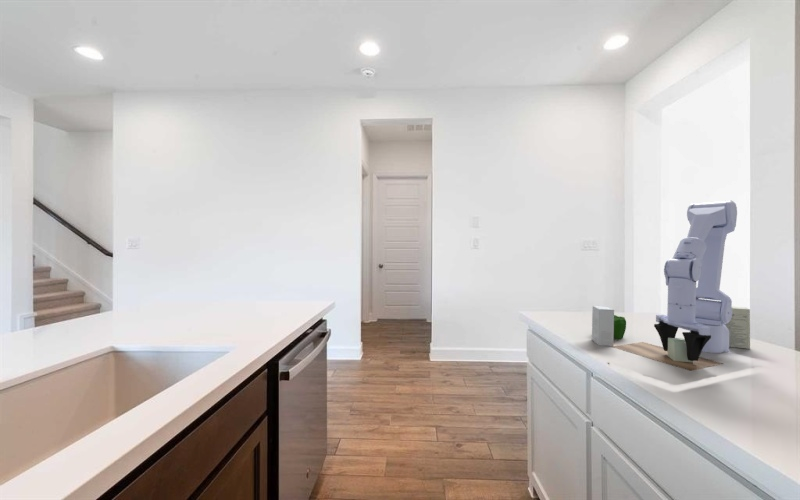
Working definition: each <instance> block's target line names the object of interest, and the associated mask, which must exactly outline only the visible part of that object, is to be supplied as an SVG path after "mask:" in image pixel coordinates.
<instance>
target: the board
mask: <svg viewBox="0 0 800 500" xmlns="http://www.w3.org/2000/svg"><path fill="white" fill-rule="evenodd" d="M611 348H614V349H618V350H621V351H624V352H626V353H631V354H633V355H638V356H640V357H644V358H647V359H650V360H654V361H657V362H661V363H664V364H667V365H669V366H670V365H671V366H673V367H675V368H676V367H678V368H680V369H683V370H687V371H695V370H699V369H704V368H710V367H715V366H718V365H724V363H723V362H719V361H715V360H712V359H708V358H704V357H701V356H699V359H698V361H693V362H683V361H674V360H673V359H671V358H670V357H669V356H668V351H664V349H663V346H659V345H655V344H653V343H648V342H645V341H640V342H634V343H626V344H619V345H613V346H611Z"/></svg>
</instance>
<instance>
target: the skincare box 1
mask: <svg viewBox="0 0 800 500" xmlns="http://www.w3.org/2000/svg"><path fill="white" fill-rule="evenodd" d="M614 315H615V309H612V308H611V307H608V306H600V305H592V315H591V316H592V317H591V321H592V322H591V341H593V342H594V343H595V344H597V345H598V346H609V347H610V346H611V347H612V346H614V340H615V339H614Z"/></svg>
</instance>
